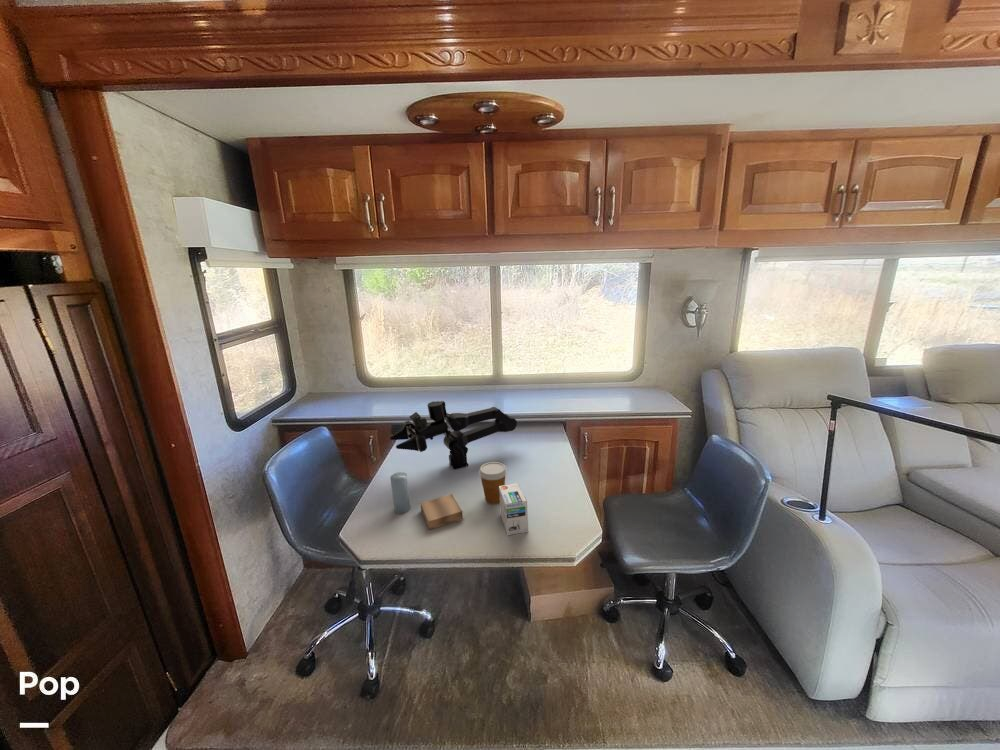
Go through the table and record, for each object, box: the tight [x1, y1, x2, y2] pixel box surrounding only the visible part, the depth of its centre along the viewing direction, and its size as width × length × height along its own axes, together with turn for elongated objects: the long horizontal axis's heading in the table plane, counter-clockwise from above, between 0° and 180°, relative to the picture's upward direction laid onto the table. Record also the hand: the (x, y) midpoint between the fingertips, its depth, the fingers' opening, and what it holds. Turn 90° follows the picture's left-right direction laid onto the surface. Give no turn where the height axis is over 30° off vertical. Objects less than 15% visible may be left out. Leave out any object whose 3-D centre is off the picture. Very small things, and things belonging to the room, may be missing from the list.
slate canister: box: [390, 471, 411, 515], centre depth 125 cm, size 5×5×12 cm
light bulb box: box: [499, 482, 529, 536], centre depth 115 cm, size 11×7×11 cm, turn 12°
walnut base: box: [420, 493, 464, 530], centre depth 122 cm, size 11×11×3 cm
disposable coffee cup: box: [478, 461, 508, 505], centre depth 128 cm, size 10×10×12 cm
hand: (393, 442), depth 139 cm, fingers open, 9 cm apart
